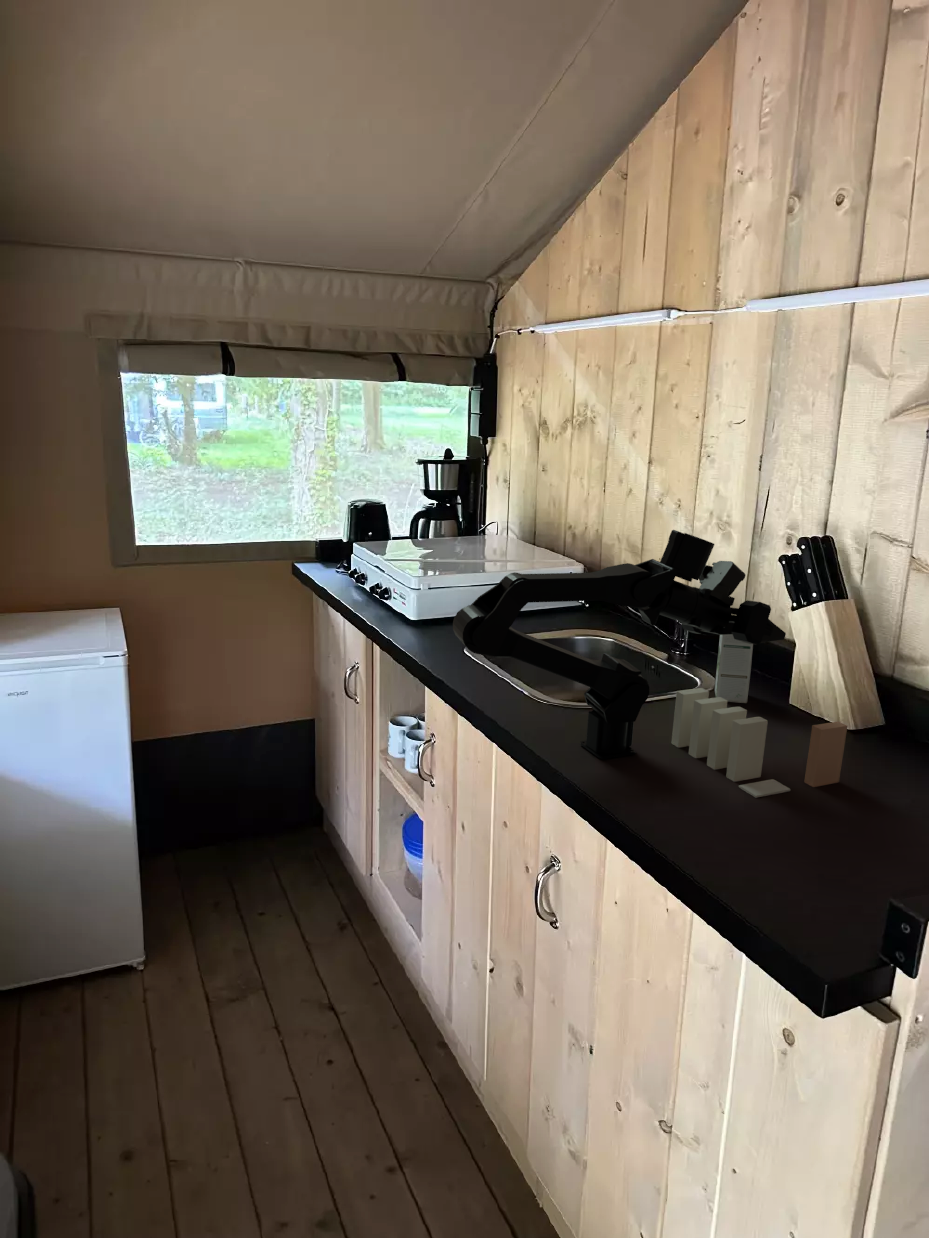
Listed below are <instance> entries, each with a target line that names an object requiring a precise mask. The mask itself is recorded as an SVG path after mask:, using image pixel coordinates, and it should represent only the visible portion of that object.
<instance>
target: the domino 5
mask: <svg viewBox="0 0 929 1238" xmlns="http://www.w3.org/2000/svg"><path fill="white" fill-rule="evenodd" d="M847 731H848V725H847V724H845V723H843V722H840V721H833V722H826V723H820V724H813V725H811V732H810V741H809V747H808V754H807V761H806V767H805V773H804V774H805V775H804V781H803V782H804V783H805V784H807V785H809V786H810V787H812V788H817V787H821V786H822V787H823V786H827V785H831V784H837V783H840V776H841V771H842V770H841V769H842V763H843V757H844V751H845V746H846V739H847V738H846V737H847Z"/></svg>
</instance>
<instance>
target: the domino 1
mask: <svg viewBox="0 0 929 1238" xmlns="http://www.w3.org/2000/svg"><path fill="white" fill-rule="evenodd" d="M675 695H676V696H675V704H674V714H673V724H672V734H671V744H672V745H674V747H676V748H685V747H689V745H690V736H691V727H692V717H693V708H694V700H701V699H708V698H709V695H710V690H707V689H705V688H704V687H697V688H692V689H682V690H676V694H675Z"/></svg>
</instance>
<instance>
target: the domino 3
mask: <svg viewBox="0 0 929 1238" xmlns="http://www.w3.org/2000/svg"><path fill="white" fill-rule="evenodd" d="M747 713H748V710H747V709H745V708H743V707H741V706H740V705H739V706H732V707H727V708H724V709H717V710H713V713H712V722H711V731H710V740H709V749H708V756H707V757H706V758H707V759H706V767H707V766H708V767H709V768H711V769H712V770H713V771H715V770H720V769H727V765H728V756H729V748H730V739H731V731H732V722H733V720H739V719H746V718H747Z"/></svg>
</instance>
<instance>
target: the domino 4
mask: <svg viewBox="0 0 929 1238" xmlns="http://www.w3.org/2000/svg"><path fill="white" fill-rule="evenodd" d="M768 722H769V721H768V720H767V719H765V718H763V717H761V716H754V717H746V719H739V720H733V722H732V731H731V739H730V748H729V756H728V765H727V768H726V772H725V773H726V775H725V777H726V778H727V779H729V780H730V781H732V782H735V783H736V782H741V781H747V780H751V779H757V778H761V777H762V776H761V775H762V769H763V760H764V754H765V748H766V747H765V746H766V737H767V730H768Z"/></svg>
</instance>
